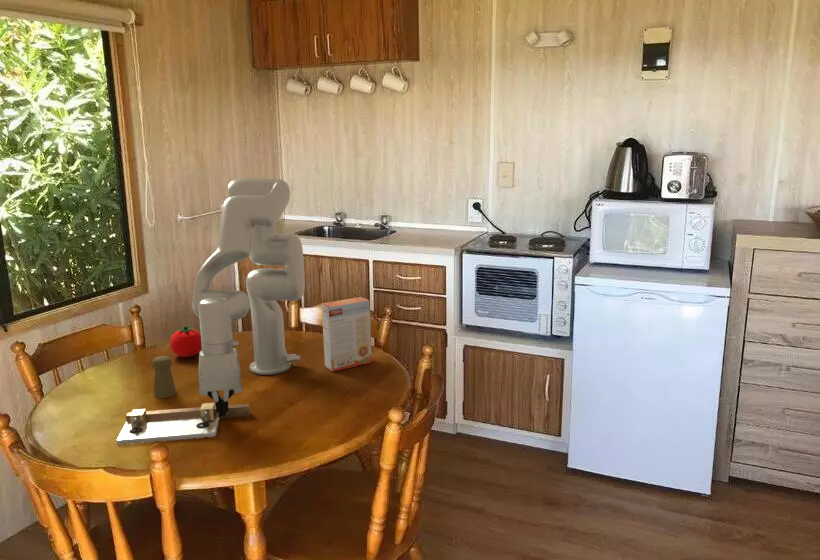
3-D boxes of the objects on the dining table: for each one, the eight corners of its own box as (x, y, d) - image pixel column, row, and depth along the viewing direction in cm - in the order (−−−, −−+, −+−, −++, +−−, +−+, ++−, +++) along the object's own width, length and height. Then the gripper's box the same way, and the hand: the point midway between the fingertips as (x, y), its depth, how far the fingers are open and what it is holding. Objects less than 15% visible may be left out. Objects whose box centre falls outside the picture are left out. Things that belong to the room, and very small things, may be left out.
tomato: (202, 348, 231) (199, 320, 228) (206, 358, 221) (204, 329, 219) (169, 353, 227) (167, 324, 224) (172, 363, 217) (170, 333, 215)
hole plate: (250, 410, 183) (249, 395, 182) (246, 434, 169) (245, 417, 168) (130, 419, 178) (128, 404, 177) (117, 444, 164) (115, 428, 163)
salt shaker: (149, 394, 194) (145, 357, 191) (169, 387, 198) (166, 352, 196) (160, 400, 190) (156, 362, 187) (180, 393, 194) (176, 357, 192)
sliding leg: (215, 413, 177) (214, 402, 176) (212, 424, 171) (211, 412, 171) (203, 414, 177) (202, 403, 176) (200, 425, 171) (199, 413, 170)
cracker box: (363, 358, 221) (361, 295, 216) (372, 363, 216) (370, 300, 211) (323, 366, 214) (321, 302, 209) (331, 372, 209) (329, 306, 204)
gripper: (248, 340, 176) (253, 405, 181) (188, 343, 174) (194, 410, 178) (247, 349, 169) (251, 418, 173) (184, 353, 166) (190, 423, 171)
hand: (222, 414), depth 176 cm, fingers closed
